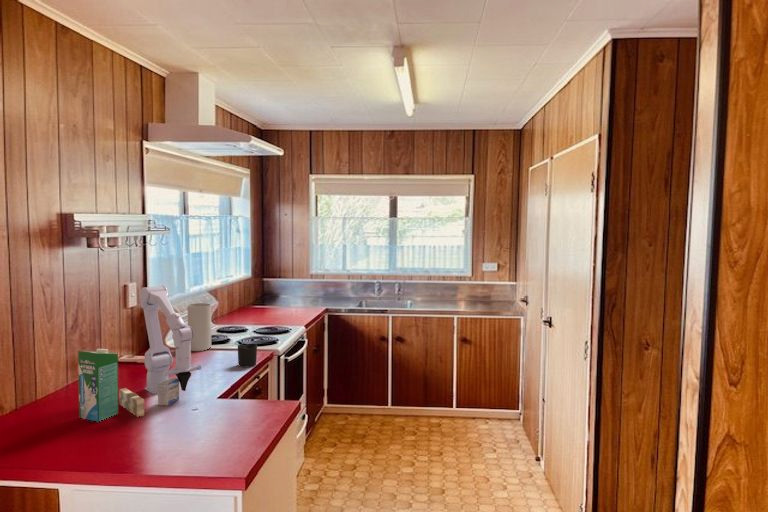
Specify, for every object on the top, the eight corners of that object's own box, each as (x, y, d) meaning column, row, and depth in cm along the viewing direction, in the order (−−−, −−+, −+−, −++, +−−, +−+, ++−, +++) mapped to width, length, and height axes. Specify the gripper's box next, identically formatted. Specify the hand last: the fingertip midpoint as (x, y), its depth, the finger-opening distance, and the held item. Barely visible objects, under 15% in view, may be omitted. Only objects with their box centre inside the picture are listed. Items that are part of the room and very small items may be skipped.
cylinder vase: (194, 345, 300) (194, 302, 298) (215, 347, 298) (215, 303, 296) (183, 351, 287) (183, 306, 286) (204, 352, 286) (204, 307, 284)
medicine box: (167, 406, 202) (167, 384, 202) (157, 405, 203) (157, 383, 202) (179, 399, 210) (179, 378, 209) (169, 398, 211) (169, 377, 210)
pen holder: (250, 368, 256) (250, 348, 256) (233, 366, 259) (233, 346, 259) (260, 363, 265) (260, 344, 265) (244, 361, 268) (244, 342, 268)
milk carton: (118, 414, 193) (118, 347, 191) (98, 422, 185) (97, 353, 183) (100, 410, 196) (99, 345, 194) (78, 419, 187) (77, 350, 186)
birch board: (119, 404, 203) (119, 388, 202) (126, 403, 205) (125, 387, 204) (137, 417, 190) (137, 400, 190) (144, 415, 192) (144, 398, 192)
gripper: (169, 362, 202) (170, 396, 203) (204, 355, 212) (205, 388, 213) (162, 358, 207) (162, 392, 208) (196, 352, 217) (196, 384, 218)
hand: (183, 390), depth 211 cm, fingers closed
